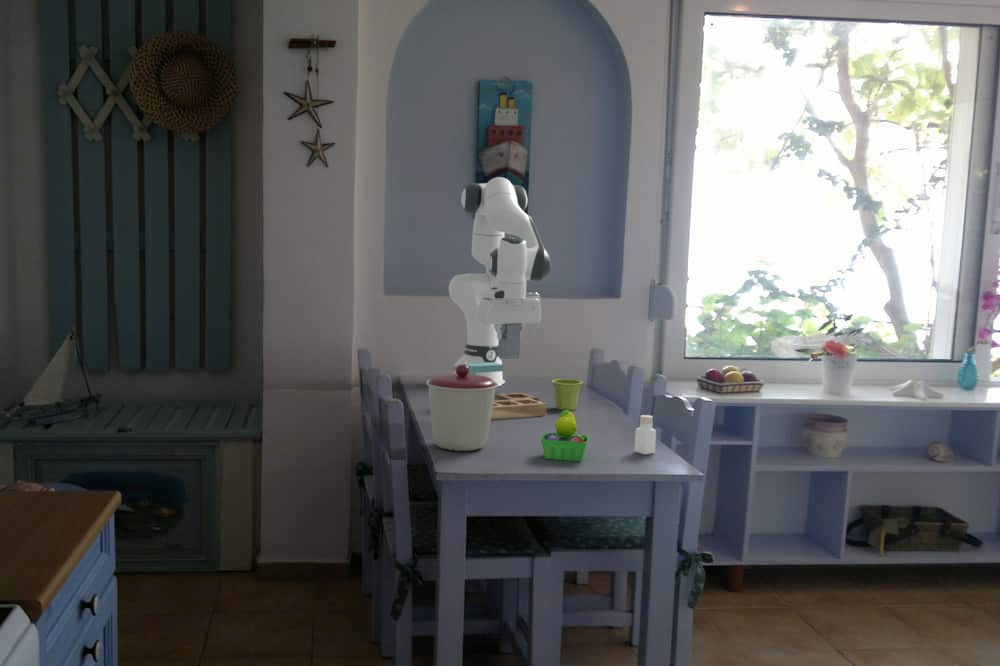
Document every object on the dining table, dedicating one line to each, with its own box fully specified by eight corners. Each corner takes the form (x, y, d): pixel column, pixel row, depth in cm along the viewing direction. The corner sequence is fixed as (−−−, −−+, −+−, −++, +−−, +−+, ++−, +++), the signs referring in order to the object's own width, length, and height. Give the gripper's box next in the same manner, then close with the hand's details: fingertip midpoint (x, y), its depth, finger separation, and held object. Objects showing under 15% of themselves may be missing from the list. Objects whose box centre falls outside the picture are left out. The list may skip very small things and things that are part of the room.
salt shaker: (644, 450, 252) (646, 414, 251) (655, 453, 249) (658, 416, 248) (633, 452, 250) (635, 415, 249) (644, 455, 247) (646, 418, 246)
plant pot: (565, 412, 299) (566, 384, 298) (544, 407, 306) (545, 380, 305) (587, 409, 305) (588, 382, 304) (566, 404, 312) (567, 377, 311)
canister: (510, 449, 248) (513, 366, 245) (456, 459, 235) (459, 372, 233) (463, 436, 261) (466, 357, 258) (409, 444, 248) (411, 362, 246)
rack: (465, 414, 291) (466, 402, 291) (528, 409, 302) (528, 398, 302) (482, 420, 282) (482, 408, 282) (546, 415, 294) (546, 403, 293)
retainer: (491, 400, 307) (493, 362, 306) (503, 404, 301) (504, 365, 300) (454, 403, 301) (456, 363, 299) (465, 407, 295) (467, 367, 293)
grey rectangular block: (497, 357, 291) (499, 323, 290) (511, 356, 294) (512, 323, 292) (505, 359, 287) (507, 325, 286) (519, 358, 290) (520, 324, 288)
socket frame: (521, 401, 315) (521, 392, 315) (538, 407, 306) (538, 397, 306) (447, 406, 301) (447, 397, 301) (462, 412, 293) (462, 402, 292)
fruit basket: (539, 459, 238) (541, 413, 237) (543, 451, 247) (545, 407, 246) (585, 463, 236) (588, 417, 235) (589, 455, 245) (591, 410, 244)
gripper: (535, 291, 296) (533, 336, 298) (476, 291, 286) (474, 338, 287) (546, 293, 291) (544, 339, 292) (486, 293, 280) (485, 341, 282)
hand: (509, 338), depth 290 cm, fingers closed on grey rectangular block, 5 cm apart
